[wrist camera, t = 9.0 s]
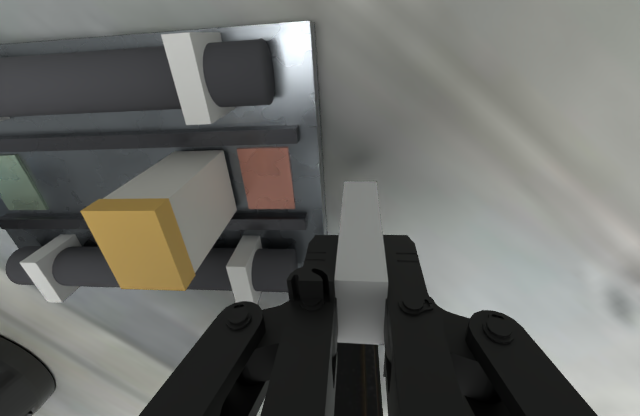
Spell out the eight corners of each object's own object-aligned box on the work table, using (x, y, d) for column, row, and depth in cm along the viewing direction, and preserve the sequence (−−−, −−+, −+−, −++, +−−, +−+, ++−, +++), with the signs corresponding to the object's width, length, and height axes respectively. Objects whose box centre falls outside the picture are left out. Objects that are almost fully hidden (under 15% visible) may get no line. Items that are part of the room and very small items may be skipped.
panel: (55, 256, 26) (25, 279, 24) (-73, 51, 19) (-137, 54, 16) (328, 261, 24) (325, 286, 21) (314, 22, 16) (307, 20, 13)
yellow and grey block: (192, 210, 20) (121, 288, 14) (173, 150, 18) (80, 211, 12) (237, 210, 19) (185, 290, 13) (223, 149, 17) (154, 210, 11)
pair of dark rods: (55, 270, 24) (17, 301, 22) (-84, 55, 17) (-171, 59, 14) (299, 276, 22) (291, 310, 19) (268, 28, 14) (247, 28, 12)
